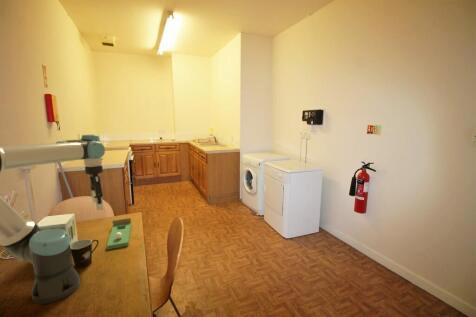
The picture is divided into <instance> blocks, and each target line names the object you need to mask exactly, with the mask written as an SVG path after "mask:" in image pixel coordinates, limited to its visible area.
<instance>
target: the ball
mask: <svg viewBox="0 0 476 317" xmlns="http://www.w3.org/2000/svg"><path fill="white" fill-rule="evenodd" d="M121 237H122V233H120V232H118V233H116V234H115V238H116V239H120V238H121Z"/></svg>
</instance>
